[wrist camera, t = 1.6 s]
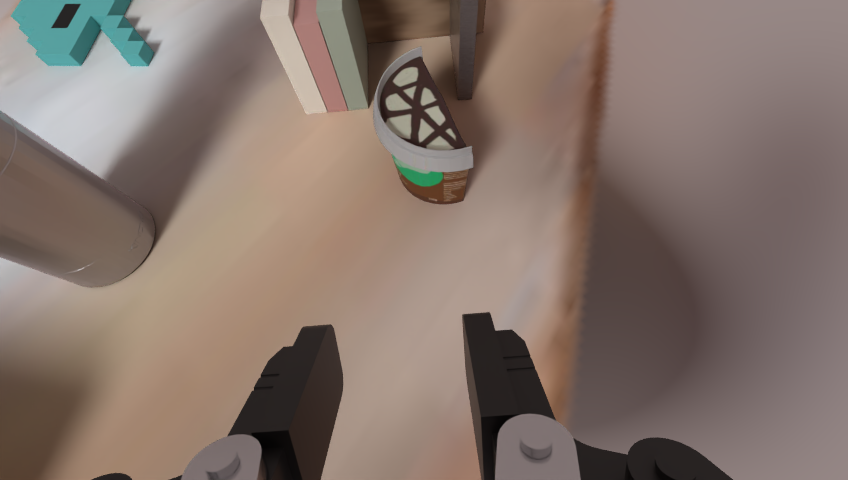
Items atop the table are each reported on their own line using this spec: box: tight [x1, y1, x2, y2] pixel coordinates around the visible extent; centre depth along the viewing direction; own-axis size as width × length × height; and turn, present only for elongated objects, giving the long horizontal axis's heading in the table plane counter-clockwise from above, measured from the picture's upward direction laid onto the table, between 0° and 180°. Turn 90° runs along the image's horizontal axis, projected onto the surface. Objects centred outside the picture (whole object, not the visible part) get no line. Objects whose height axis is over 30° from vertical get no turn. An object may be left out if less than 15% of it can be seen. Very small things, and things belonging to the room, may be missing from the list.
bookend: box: [450, 0, 478, 100], centre depth 41 cm, size 2×10×12 cm, turn 4°
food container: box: [373, 46, 473, 204], centre depth 37 cm, size 12×6×10 cm, turn 20°
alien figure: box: [11, 0, 154, 66], centre depth 54 cm, size 20×2×20 cm
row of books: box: [260, 0, 368, 114], centre depth 42 cm, size 7×10×12 cm
